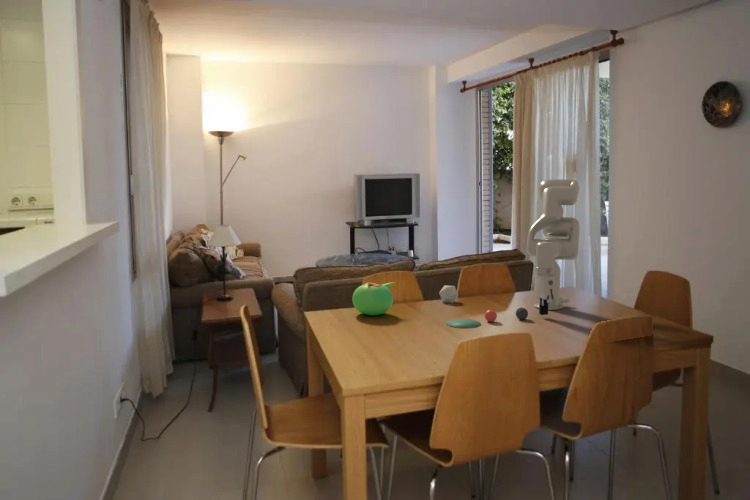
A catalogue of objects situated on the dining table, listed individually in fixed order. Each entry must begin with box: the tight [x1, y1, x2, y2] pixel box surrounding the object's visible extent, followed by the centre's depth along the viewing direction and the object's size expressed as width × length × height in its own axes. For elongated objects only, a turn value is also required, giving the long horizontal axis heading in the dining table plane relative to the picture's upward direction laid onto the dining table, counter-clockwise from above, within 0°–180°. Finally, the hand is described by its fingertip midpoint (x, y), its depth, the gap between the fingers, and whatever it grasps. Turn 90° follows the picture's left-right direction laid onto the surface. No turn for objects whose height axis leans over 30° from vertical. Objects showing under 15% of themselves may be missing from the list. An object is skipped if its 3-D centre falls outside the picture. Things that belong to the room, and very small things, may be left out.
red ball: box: [484, 309, 498, 323], centre depth 234 cm, size 5×5×5 cm
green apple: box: [351, 281, 397, 316], centre depth 248 cm, size 18×17×15 cm
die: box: [438, 284, 459, 304], centre depth 271 cm, size 8×9×10 cm
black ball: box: [515, 307, 529, 321], centre depth 237 cm, size 5×5×5 cm
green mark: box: [445, 318, 482, 329], centre depth 232 cm, size 14×14×1 cm
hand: (543, 314), depth 240 cm, fingers closed
